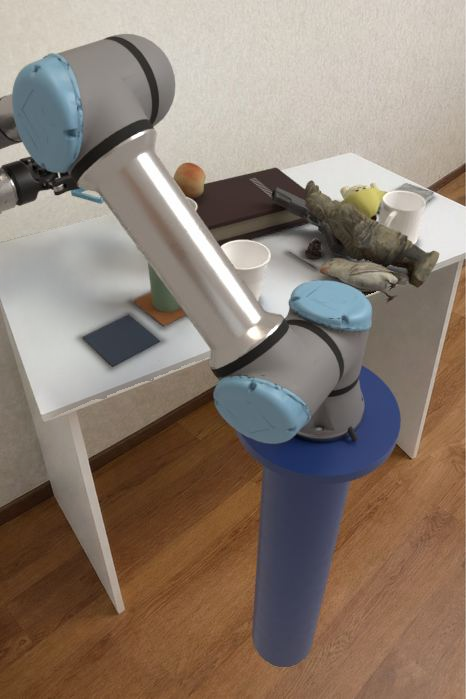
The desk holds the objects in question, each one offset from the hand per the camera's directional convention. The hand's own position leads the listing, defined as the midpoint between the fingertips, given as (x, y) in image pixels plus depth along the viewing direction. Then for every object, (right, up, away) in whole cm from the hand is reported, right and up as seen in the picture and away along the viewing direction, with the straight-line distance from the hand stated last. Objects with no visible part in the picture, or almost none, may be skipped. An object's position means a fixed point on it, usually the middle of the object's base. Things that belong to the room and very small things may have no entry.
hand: (113, 152), depth 118 cm
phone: (+66, -4, +26) cm, 71 cm away
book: (+26, -8, +21) cm, 34 cm away
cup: (+26, -31, -4) cm, 40 cm away
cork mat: (+12, -31, -4) cm, 33 cm away
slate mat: (+4, -38, -12) cm, 40 cm away
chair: (-3, -7, +2) cm, 9 cm away
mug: (+59, -15, +13) cm, 63 cm away
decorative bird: (+54, -29, -7) cm, 62 cm away
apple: (+18, -3, +12) cm, 22 cm away
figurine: (+41, -20, +8) cm, 46 cm away
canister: (+12, -30, -4) cm, 33 cm away
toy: (+53, -2, +25) cm, 59 cm away
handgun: (+40, -16, +5) cm, 44 cm away
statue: (+63, -25, 0) cm, 68 cm away
